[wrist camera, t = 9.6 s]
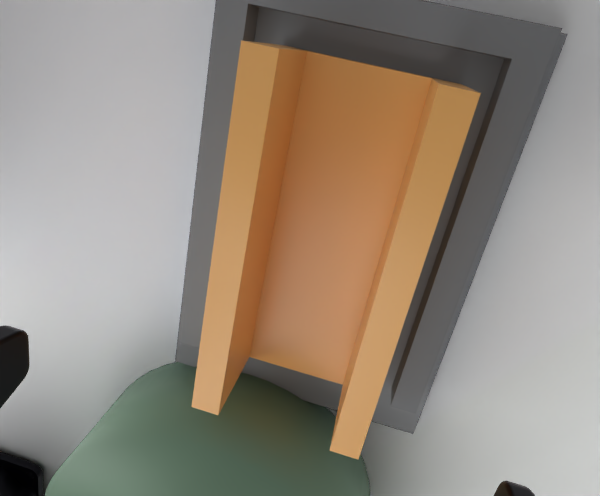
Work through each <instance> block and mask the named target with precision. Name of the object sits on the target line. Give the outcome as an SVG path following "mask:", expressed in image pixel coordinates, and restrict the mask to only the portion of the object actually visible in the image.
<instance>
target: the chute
mask: <svg viewBox="0 0 600 496" xmlns="http://www.w3.org/2000/svg"><path fill="white" fill-rule="evenodd" d="M480 94H481V93H479V92H477V91H475V90H473V89H471V88H469V87H467V86H465V85H462V84H458V83H454V82H449V81H445V80H440V79H436V78H431V77H426V76H422V75H417V74H413V73H408V72H404V71H399V70H394V69H390V68H385V67H381V66H376V65H372V64H367V63H363V62H358V61H353V60H349V59H344V58H340V57H335V56H331V55H326V54H321V53H317V52H312V51H308V50H303V49H299V48H294V47H289V46H285V45H278V44H269V43H260V42H251V41H242V40H241V45H240V53H239V60H238V67H237V75H236V82H235V89H234V97H233V104H232V111H231V119H230V126H229V134H228V141H227V148H226V156H225V163H224V170H223V178H222V185H221V193H220V200H219V207H218V215H217V222H216V229H215V237H214V244H213V251H212V259H211V266H210V274H209V281H208V288H207V296H206V303H205V310H204V318H203V325H202V333H201V340H200V347H199V355H198V362H197V369H196V377H195V384H194V391H193V399H192V406H191V407H193V408H196V409H200V410H203V411H206V412H209V413H212V414H215V415H219V413H220V411H221V409H222V407H223V406H224V404H225V402H226V400H227V398H228V396H229V394H230V392H231V391H232V389H233V387H234V385H235V383H236V381H237V379H238V377H239V376H240V374H241V372H242V370H243V368H244V366H245V364H246V362H247V361H248V359H249V357H251V358H255V359H258V360H261V361H265V362H268V363H271V364H275V365H278V366H281V367H285V368H288V369H291V370H295V371H298V372H301V373H305V374H308V375H312V376H315V377H318V378H322V379H325V380H328V381H332V382H335V383H338V384H342V385H343V386H342V391H341V396H340V401H339V406H338V411H337V416H336V421H335V426H334V431H333V436H332V441H331V446H330V451H332V452H335V453H339V454H342V455H345V456H348V457H351V458H354V459H359V456H360V453H361V450H362V447H363V444H364V441H365V438H366V435H367V432H368V429H369V426H370V423H371V420H372V417H373V414H374V411H375V408H376V405H377V402H378V399H379V396H380V393H381V390H382V387H383V384H384V381H385V378H386V375H387V372H388V369H389V366H390V364H391V361H392V358H393V355H394V352H395V349H396V346H397V343H398V340H399V337H400V334H401V331H402V328H403V325H404V322H405V319H406V316H407V313H408V310H409V307H410V304H411V301H412V298H413V295H414V292H415V289H416V286H417V283H418V280H419V277H420V274H421V271H422V268H423V265H424V262H425V259H426V256H427V253H428V250H429V247H430V244H431V241H432V238H433V235H434V232H435V229H436V226H437V223H438V220H439V217H440V214H441V211H442V208H443V205H444V202H445V199H446V196H447V193H448V190H449V187H450V184H451V181H452V178H453V175H454V172H455V169H456V166H457V163H458V160H459V157H460V154H461V151H462V148H463V145H464V142H465V139H466V136H467V133H468V130H469V127H470V124H471V121H472V118H473V115H474V112H475V109H476V106H477V103H478V100H479V97H480Z"/></svg>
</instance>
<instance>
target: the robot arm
mask: <svg viewBox="0 0 600 496" xmlns="http://www.w3.org/2000/svg"><path fill="white" fill-rule="evenodd" d="M28 369H29V342H28V335H27V333H26V332H25V331H23V330H20V329H17V328H14V327H11V326H0V408H1V407H2V406H3V404H4V403H5V402H6V401H7V399H8V398H9V397H10V396H11V394H12V393H13V392H14V391H15V389H16V388H17V387H18V386H19V384H20V383H21V382H22V381H23V379H24V378H25V376H26V374H27V372H28ZM0 496H43V471H42V469H41V467H39V466H38V465H37V464H34V463H32V462H29V461H26V460H23V459H20V458H17V457H14V456H11V455H8V454H5V453H3V452H0ZM494 496H535V495H534V494H533V492H532V491H531V490H530V489H529V488H527V487H525V486H522V485H519V484H516V483H512V482H509V481H503V482H502V483H501V484H500V485H499V486H498V488H497V490H496V492H495V494H494Z"/></svg>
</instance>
